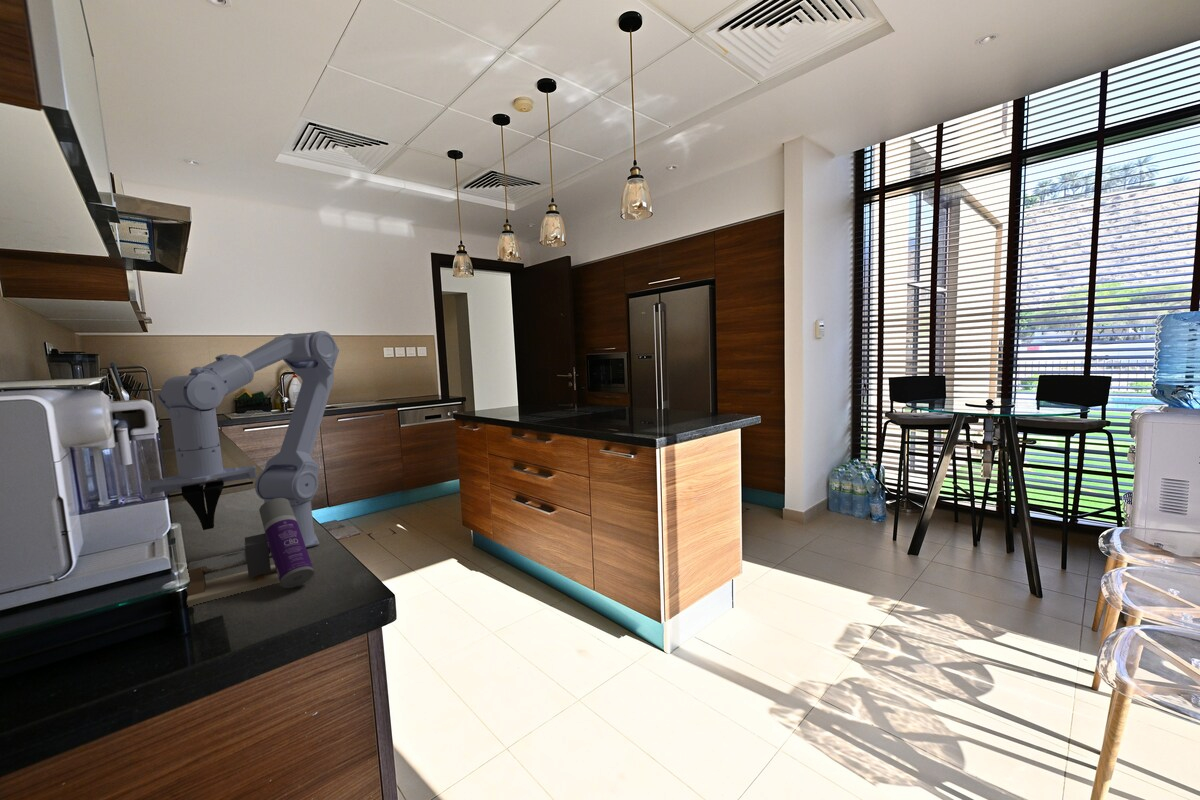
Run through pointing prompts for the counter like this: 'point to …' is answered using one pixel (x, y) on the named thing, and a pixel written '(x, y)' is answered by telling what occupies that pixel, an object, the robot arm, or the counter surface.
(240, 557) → the dark long bar
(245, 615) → the counter surface
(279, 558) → the container
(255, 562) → the upright grey rectangular block
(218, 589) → the base board
